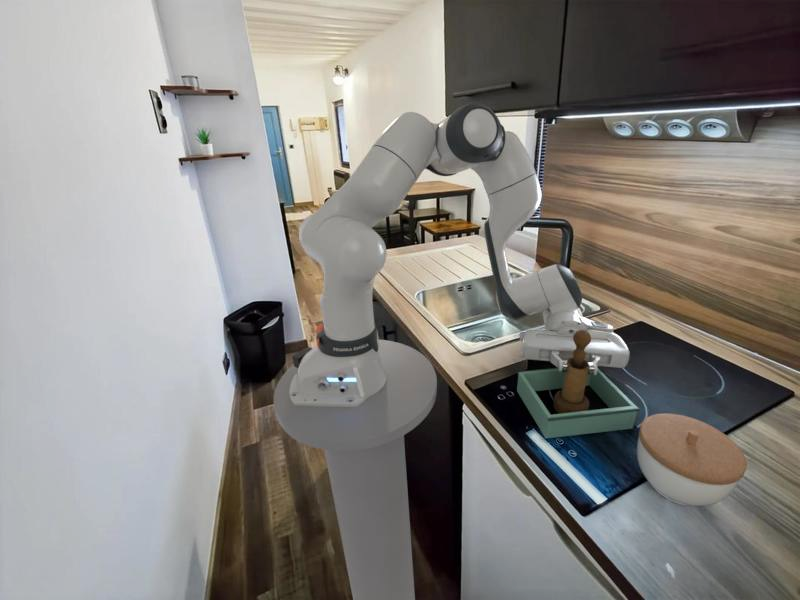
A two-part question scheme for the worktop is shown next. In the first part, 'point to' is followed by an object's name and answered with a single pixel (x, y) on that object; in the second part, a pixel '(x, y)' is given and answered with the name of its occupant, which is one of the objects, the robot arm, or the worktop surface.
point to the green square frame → (575, 422)
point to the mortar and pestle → (575, 378)
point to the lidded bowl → (688, 459)
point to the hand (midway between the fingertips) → (578, 370)
